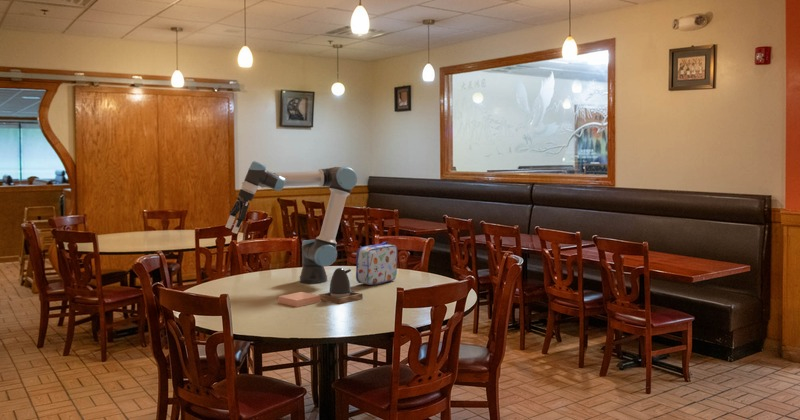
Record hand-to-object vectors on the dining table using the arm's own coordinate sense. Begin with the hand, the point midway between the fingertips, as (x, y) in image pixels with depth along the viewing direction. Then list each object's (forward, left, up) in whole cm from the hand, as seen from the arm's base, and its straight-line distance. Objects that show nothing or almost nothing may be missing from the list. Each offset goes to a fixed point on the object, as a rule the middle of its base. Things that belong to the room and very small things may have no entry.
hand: (230, 230), depth 339 cm
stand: (-9, +42, -32) cm, 54 cm away
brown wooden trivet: (-26, +52, -32) cm, 66 cm away
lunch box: (-68, +36, -32) cm, 83 cm away
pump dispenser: (-26, +52, -32) cm, 66 cm away
